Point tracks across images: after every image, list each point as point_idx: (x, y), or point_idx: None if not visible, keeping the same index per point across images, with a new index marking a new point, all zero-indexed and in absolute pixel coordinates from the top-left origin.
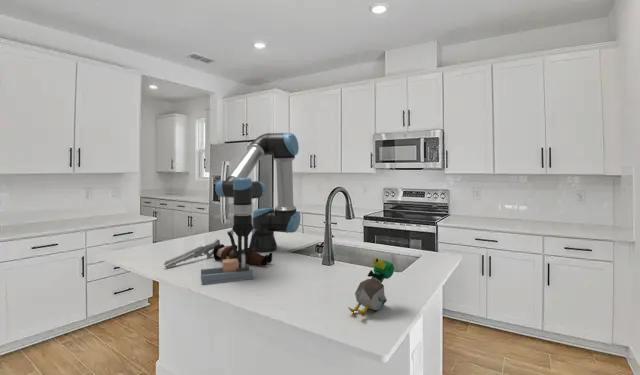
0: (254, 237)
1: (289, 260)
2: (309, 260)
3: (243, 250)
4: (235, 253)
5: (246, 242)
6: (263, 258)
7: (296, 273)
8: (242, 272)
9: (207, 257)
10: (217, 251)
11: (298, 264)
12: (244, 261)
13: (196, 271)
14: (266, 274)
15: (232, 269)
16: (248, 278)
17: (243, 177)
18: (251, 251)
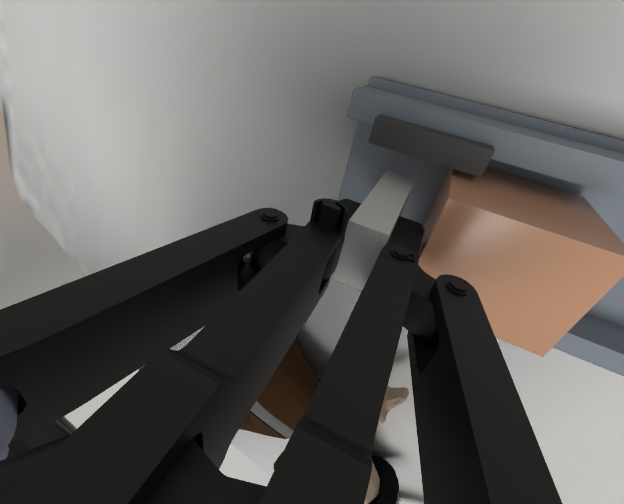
0: (50, 304)
1: (124, 250)
2: (55, 194)
3: (269, 409)
4: (465, 283)
5: (249, 314)
6: None
7: (108, 28)
8: (447, 112)
9: (399, 499)
10: (372, 500)
11: (94, 175)
12: (375, 198)
13: (577, 439)
14: (261, 124)
15: (513, 192)
16: (406, 85)
17: None
18: (262, 213)
